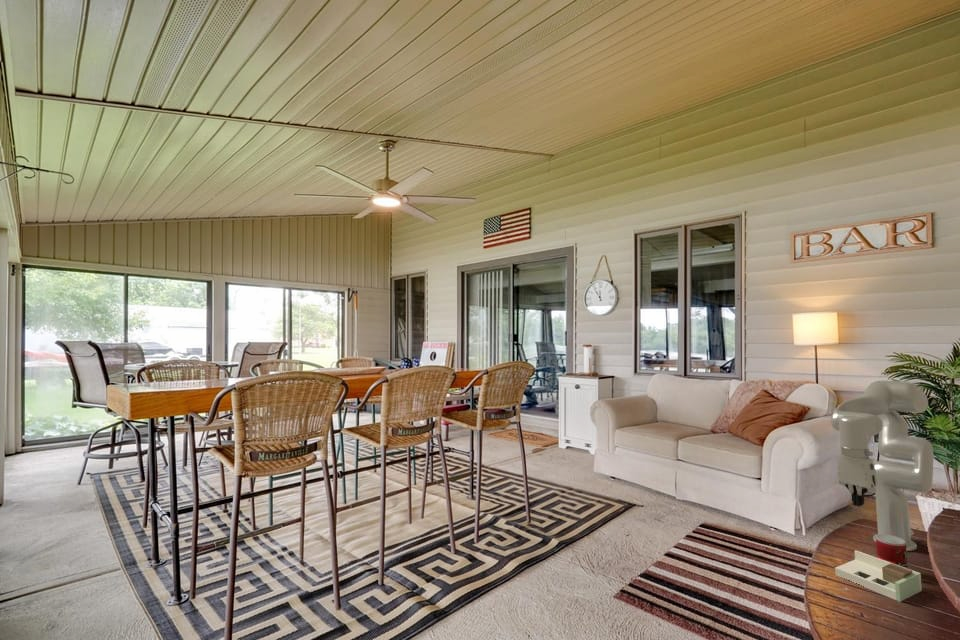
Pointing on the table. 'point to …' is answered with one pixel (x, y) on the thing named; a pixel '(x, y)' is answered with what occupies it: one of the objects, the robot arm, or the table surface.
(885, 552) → the canned food
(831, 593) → the table surface
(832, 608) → the table surface
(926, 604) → the table surface
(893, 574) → the block
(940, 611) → the table surface
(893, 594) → the trap box
